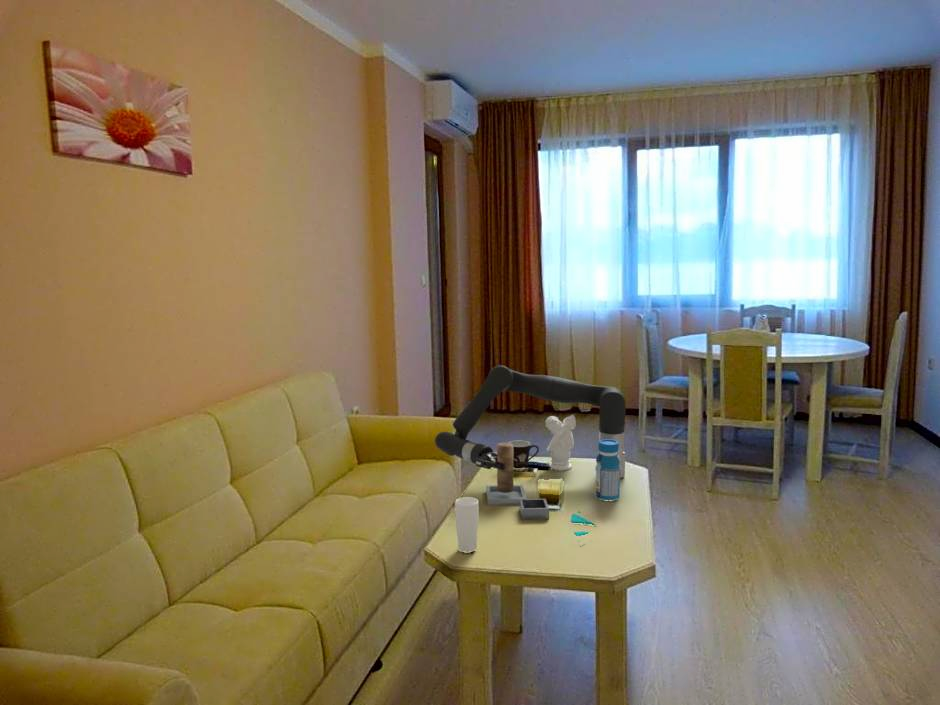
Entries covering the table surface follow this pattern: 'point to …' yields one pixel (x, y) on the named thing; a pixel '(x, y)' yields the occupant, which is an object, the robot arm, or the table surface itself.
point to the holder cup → (533, 509)
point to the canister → (505, 475)
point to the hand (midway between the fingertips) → (510, 465)
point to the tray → (505, 495)
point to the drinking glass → (467, 522)
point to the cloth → (580, 520)
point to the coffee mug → (522, 452)
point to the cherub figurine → (561, 441)
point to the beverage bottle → (608, 470)
